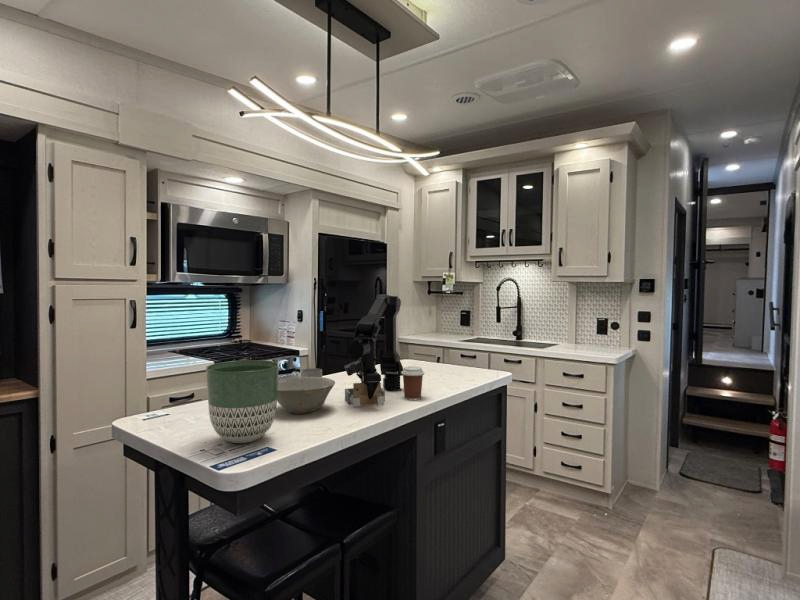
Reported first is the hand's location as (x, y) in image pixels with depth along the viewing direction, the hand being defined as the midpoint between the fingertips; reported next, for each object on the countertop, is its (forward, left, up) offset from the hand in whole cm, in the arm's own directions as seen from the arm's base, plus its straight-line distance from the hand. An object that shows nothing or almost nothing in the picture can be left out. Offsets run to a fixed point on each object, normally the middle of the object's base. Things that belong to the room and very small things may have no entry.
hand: (367, 396), depth 174 cm
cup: (+19, -20, -3) cm, 28 cm away
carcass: (0, -4, -3) cm, 5 cm away
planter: (+42, +31, -3) cm, 52 cm away
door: (0, 0, -3) cm, 3 cm away
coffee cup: (-19, -5, -3) cm, 20 cm away
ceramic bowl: (+24, +3, -3) cm, 24 cm away
